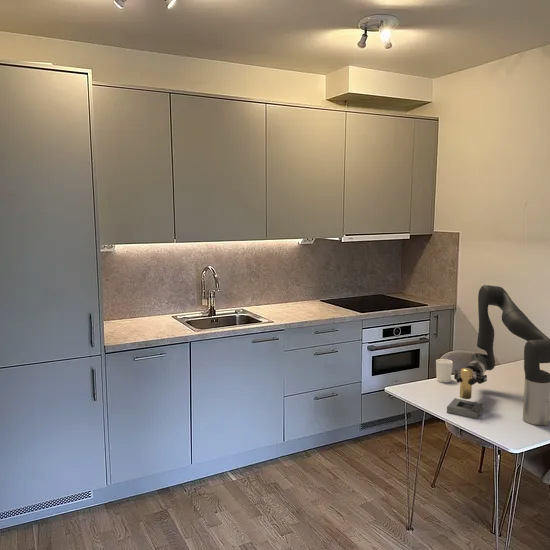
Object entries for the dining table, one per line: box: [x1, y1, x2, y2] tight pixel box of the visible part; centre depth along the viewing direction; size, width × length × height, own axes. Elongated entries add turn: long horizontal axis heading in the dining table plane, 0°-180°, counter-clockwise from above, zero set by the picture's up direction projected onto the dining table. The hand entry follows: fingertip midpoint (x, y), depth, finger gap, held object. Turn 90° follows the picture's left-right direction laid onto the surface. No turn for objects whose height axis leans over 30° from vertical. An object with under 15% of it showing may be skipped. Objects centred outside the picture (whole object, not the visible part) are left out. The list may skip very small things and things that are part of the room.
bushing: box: [459, 367, 473, 400], centre depth 210 cm, size 5×5×12 cm
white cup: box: [435, 358, 453, 383], centre depth 250 cm, size 8×8×10 cm
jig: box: [446, 398, 485, 420], centre depth 211 cm, size 12×12×2 cm
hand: (464, 381), depth 208 cm, fingers closed on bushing, 4 cm apart
